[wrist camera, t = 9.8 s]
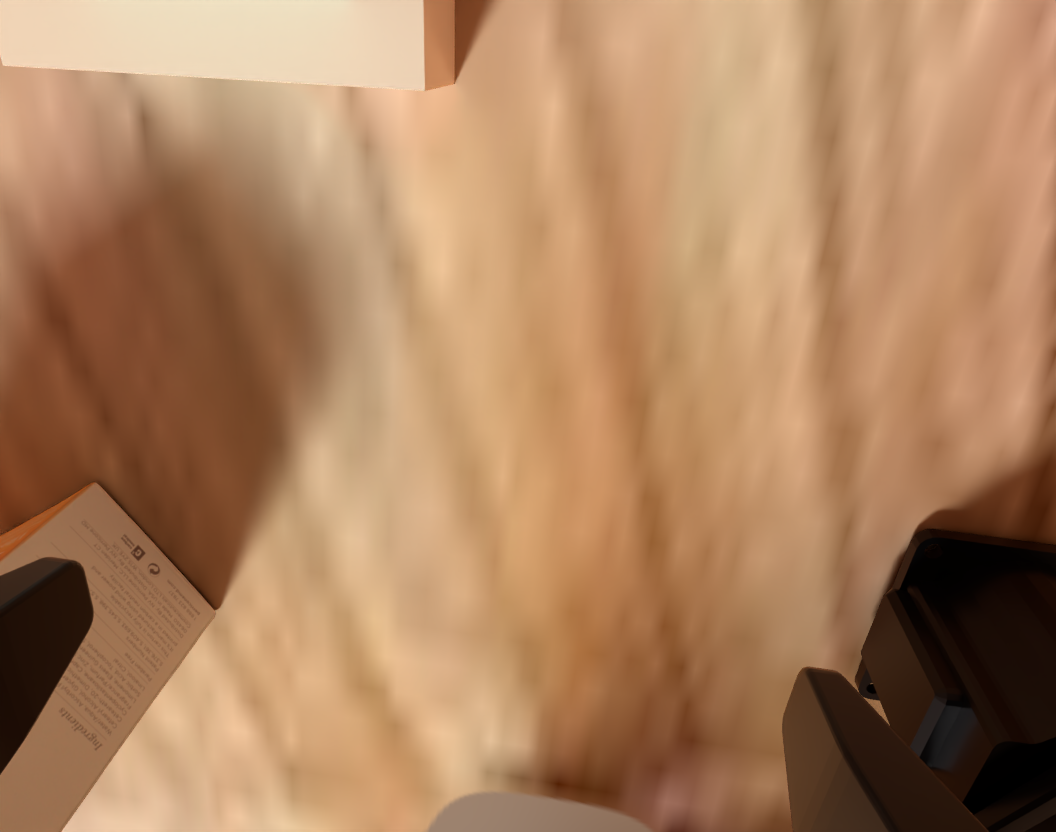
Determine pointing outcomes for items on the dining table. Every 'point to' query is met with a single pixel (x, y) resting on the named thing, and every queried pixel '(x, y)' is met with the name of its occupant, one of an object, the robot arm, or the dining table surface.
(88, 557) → the small box
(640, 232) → the dining table surface
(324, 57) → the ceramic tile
